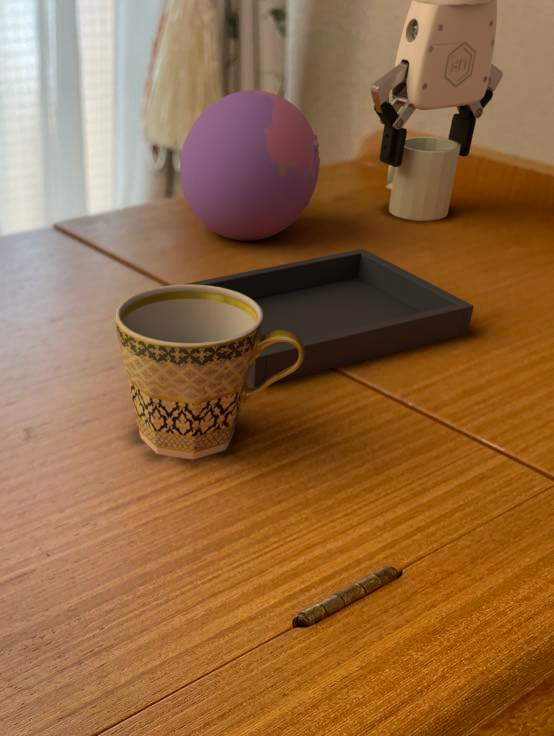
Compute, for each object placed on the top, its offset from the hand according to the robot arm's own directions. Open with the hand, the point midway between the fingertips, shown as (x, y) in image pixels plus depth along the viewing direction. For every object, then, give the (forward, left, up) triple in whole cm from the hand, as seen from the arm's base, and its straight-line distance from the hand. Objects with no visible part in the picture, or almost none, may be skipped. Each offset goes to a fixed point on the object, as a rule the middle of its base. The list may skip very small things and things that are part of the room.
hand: (424, 158), depth 100 cm
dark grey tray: (+29, +21, -6) cm, 36 cm away
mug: (0, -1, -6) cm, 7 cm away
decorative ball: (+22, -3, -7) cm, 23 cm away
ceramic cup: (+47, +34, -7) cm, 58 cm away
